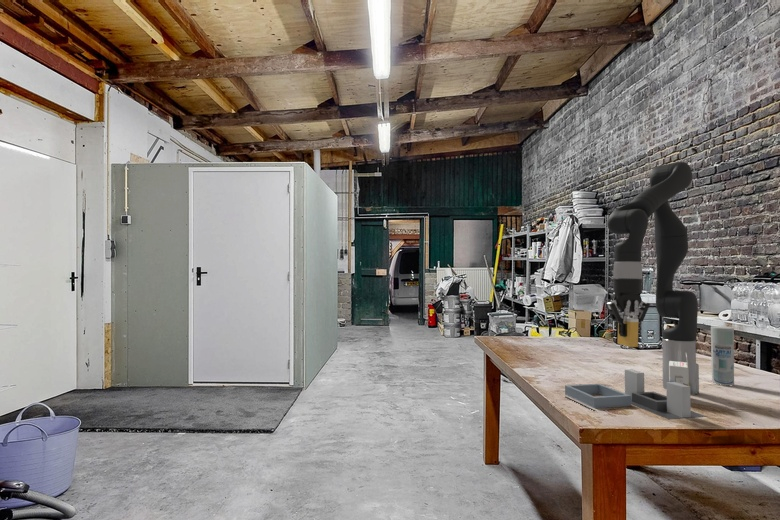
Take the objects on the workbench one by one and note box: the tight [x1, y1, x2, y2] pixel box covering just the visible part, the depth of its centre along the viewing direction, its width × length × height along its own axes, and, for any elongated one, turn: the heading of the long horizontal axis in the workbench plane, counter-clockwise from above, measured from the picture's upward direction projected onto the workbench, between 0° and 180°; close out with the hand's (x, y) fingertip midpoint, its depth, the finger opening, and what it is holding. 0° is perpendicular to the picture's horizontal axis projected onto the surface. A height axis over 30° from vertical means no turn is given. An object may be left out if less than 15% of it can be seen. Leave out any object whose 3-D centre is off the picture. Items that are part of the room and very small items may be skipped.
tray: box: [564, 383, 632, 412], centre depth 132 cm, size 12×14×4 cm
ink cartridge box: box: [669, 353, 689, 386], centre depth 133 cm, size 9×5×15 cm, turn 148°
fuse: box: [616, 316, 639, 348], centre depth 129 cm, size 3×5×8 cm, turn 12°
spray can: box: [710, 325, 735, 386], centre depth 155 cm, size 6×6×20 cm
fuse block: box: [624, 368, 708, 420], centre depth 126 cm, size 12×22×9 cm, turn 11°
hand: (627, 336), depth 129 cm, fingers closed on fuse, 2 cm apart
